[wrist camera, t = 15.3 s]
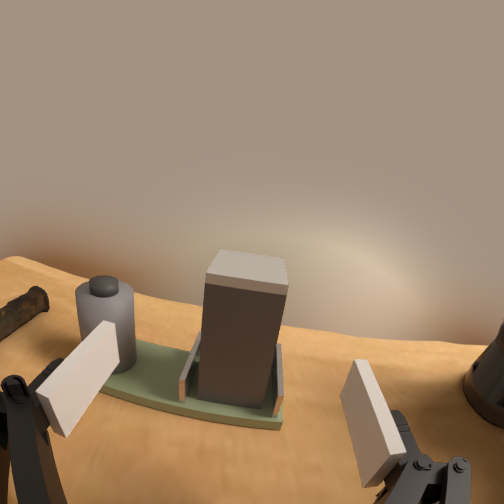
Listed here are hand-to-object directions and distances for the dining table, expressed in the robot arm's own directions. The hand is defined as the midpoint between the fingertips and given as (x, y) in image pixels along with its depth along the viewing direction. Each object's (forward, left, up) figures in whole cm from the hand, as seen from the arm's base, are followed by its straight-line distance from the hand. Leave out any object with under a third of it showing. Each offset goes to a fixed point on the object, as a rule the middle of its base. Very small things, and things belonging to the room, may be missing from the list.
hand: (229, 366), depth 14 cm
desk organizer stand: (+6, -10, -12) cm, 17 cm away
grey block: (0, -10, -11) cm, 15 cm away
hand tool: (+29, -8, -12) cm, 33 cm away
